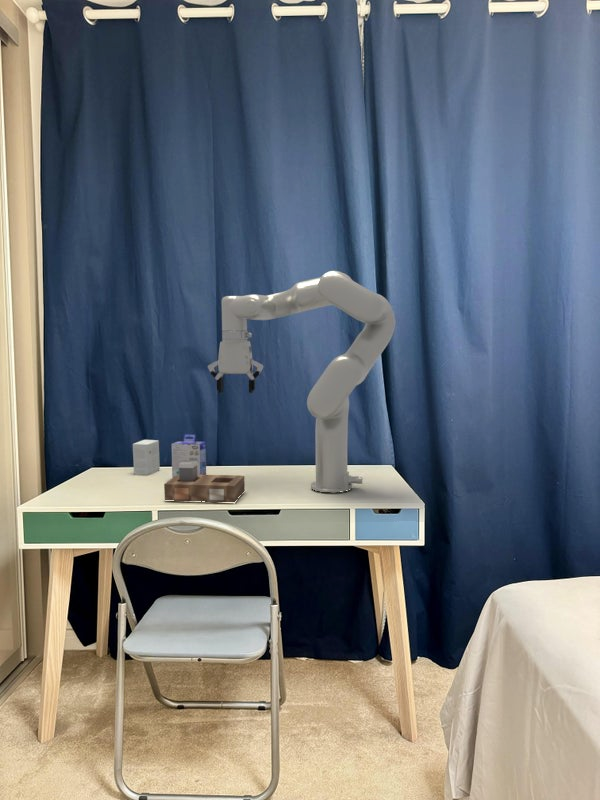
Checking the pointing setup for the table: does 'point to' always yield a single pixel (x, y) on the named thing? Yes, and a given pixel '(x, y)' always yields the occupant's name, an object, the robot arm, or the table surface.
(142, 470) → the small box
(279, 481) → the table surface
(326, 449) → the robot arm
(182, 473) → the plug
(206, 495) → the socket block
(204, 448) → the ink cartridge box
